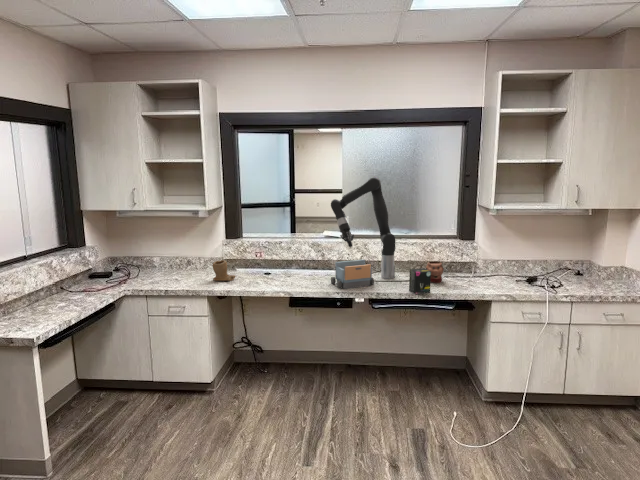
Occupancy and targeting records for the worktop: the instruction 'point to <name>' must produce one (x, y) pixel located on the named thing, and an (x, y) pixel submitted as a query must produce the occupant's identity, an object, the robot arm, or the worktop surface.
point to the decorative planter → (435, 271)
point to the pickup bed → (354, 282)
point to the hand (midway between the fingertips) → (350, 246)
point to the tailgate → (357, 272)
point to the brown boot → (221, 271)
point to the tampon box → (420, 281)
